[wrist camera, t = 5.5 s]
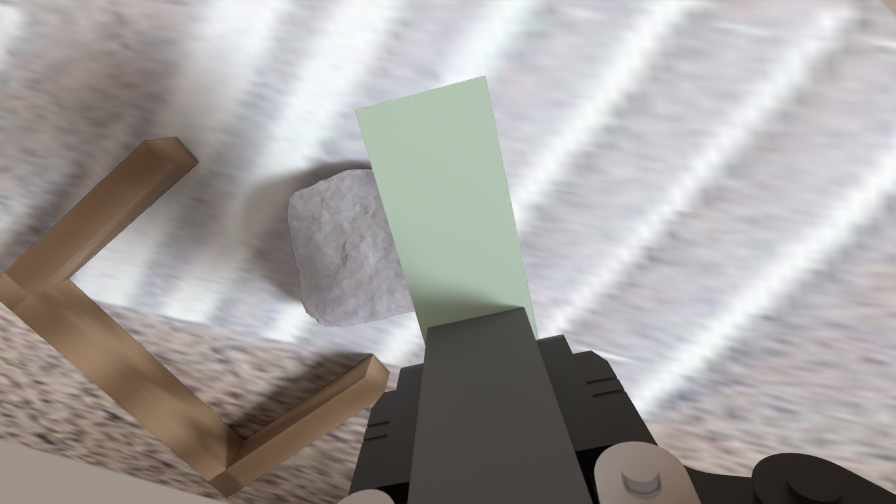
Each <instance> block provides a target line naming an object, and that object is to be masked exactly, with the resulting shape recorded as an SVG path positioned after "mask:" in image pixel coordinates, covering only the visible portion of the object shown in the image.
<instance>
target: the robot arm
mask: <svg viewBox="0 0 896 504" xmlns="http://www.w3.org/2000/svg"><path fill="white" fill-rule="evenodd" d="M536 342H537V345H538V348H539V350H540V353H541V356H542V359H543V362H544V365H545V368H546V371H547V374H548V376H549V379H550V382H551V385H552V388H553V391H554V394H555V397H556V399H557V402H558V405H559V408H560V411H561V414H562V417H563V420H564V422H565V425H566V428H567V431H568V434H569V437H570V440H571V443H572V446H573V448H574V451H575V454H576V457H577V460H578V463H579V466H580V469H581V471H582V474H583V477H584V480H585V483H586V486H587V489H588V492H589V494H590V497H591V500H592V503H593V504H896V495H895V494H893V493H891V492H889V491H887V490H886V489H884V488H882V487H880V486H878V485H876V484H874V483H872V482H870V481H868V480H866V479H864V478H862V477H861V476H859V475H857V474H855V473H853V472H851V471H849V470H847V469H845V468H843V467H841V466H839V465H837V464H835V463H833V462H830V461H827V460H825V459H822V458H819V457H815V456H811V455H806V454H800V453H780V454H775V455H771V456H768V457H766V458H764V459H762V460H761V461H760V462H759V463H758V464H757V465H756V466H755V468H754V470H753V473H752V478H751V477H741V476H730V475H720V474H712V473H705V472H701V471H697V470H694V469H692V468H689V467H686V466H684V465H683V464H682V463H681V462H680V461H679V460H678V459H677V458H676V457H675V456H674V455H673V454H671V453H670V452H668V451H667V450H665V449H663V448H661V447H659V446H658V444H657V443H656V442H655V440H654V438H653V437H652V435H651V433H650V432H649V430H648V428H647V426H646V425H645V423H644V421H643V420H642V418H641V416H640V415H639V413H638V411H637V410H636V408H635V406H634V405H633V403H632V401H631V400H630V398H629V396H628V395H627V393H626V392H625V391H624V388H623V386H622V385H621V383H620V381H619V380H618V379H617V376H616V375H615V373H614V371H613V370H612V368H611V366H610V364H609V363H608V361H606V360H605V359H603V358H602V357H600V356H599V355H597V354H596V353H594V352H593V351H586V352H581V353H576V354H573V353H572V351H571V349H570V347H569V345H568V343H567V341H566V339H565V337H564V335H563V334H562V335H557V336H552V337H548V338H543V339H538V340H536ZM423 365H424V363H422V364H418V365H413V366H408V367H403V368H401V370H400V374H399V379H398V384H397V389H396V390H394V391H389V392H384V393H383V394H382V395H381V397H380V398H379V399H378V401H377V402H376V403H375V405H374V406H373V407H372V409H371V413H370V417H369V420H368V424H367V427H368V428H367V429H366V431H365V435H364V439H363V440H364V443H362V446H361V450H360V454H359V457H358V461H357V465H356V469H355V472H354V476H353V480H352V483H351V487H350V491H349V495H348V496H347V497H346V498H344V499H343V500H341V501H340V502H338V503H337V504H407V503H408V494H409V486H410V477H411V468H412V460H413V451H414V442H415V434H416V425H417V416H418V408H419V399H420V391H421V382H422V373H423Z"/></svg>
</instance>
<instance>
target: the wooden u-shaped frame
mask: <svg viewBox="0 0 896 504" xmlns="http://www.w3.org/2000/svg"><path fill="white" fill-rule="evenodd" d="M198 163H199V162H198V161H197V159H196V158H195V157H194V156H193V155H192V154H191V153H190V152H189V151H188V150H187V148H186V147H185V146H184V145H183V144H182V143H181V142H180V141H179V140H178V139H177V137H174V138H164V139H154V140H144V141H143V142H142V143H141V144H140V145H139V146H138V147H137V148H136V149H135V150H134V151H133V152H132V153H131V154H130V155H129V156H128V157H126V158H125V159H124V160H123V161H122V162H121V163H120V164H119V165H118V166H117V167H116V168H115V169H114V170H113V171H112V172H111V173H110V174H109V175H107V176H106V177H105V178H104V179H103V180H102V181H101V182H100V183H99V184H98V185H97V186H96V187H95V188H94V189H93V190H92V191H91V192H89V193H88V194H87V195H86V196H85V197H84V198H83V199H82V200H81V201H80V202H79V203H78V204H77V205H76V206H75V207H74V208H73V209H71V210H70V211H69V212H68V213H67V214H66V215H65V216H64V217H63V218H62V219H61V220H60V221H59V222H58V223H57V224H56V225H55V226H54V227H52V228H51V229H50V230H49V231H48V232H47V233H46V234H45V235H44V236H43V237H42V238H41V239H40V240H39V241H38V242H37V243H36V244H34V245H33V246H32V247H31V248H30V249H29V250H28V251H27V252H26V253H25V254H24V255H23V256H22V257H21V258H20V259H19V260H18V261H16V262H15V263H14V264H13V265H12V266H11V267H10V268H9V269H8V270H7V271H6V272H5V273H4V274H3V275H2V276H1V277H0V301H1V302H2V303H3V304H4V305H5V306H6V307H7V308H9V309H10V310H11V311H12V312H13V313H14V314H16V315H17V316H18V317H19V318H20V319H21V320H22V321H24V322H25V323H26V324H27V325H28V326H29V327H30V328H32V329H33V330H34V331H35V332H36V333H37V334H39V335H40V336H41V337H42V338H43V339H44V340H45V341H47V342H48V343H49V344H50V345H51V346H52V347H54V348H55V349H56V350H57V351H58V352H59V353H60V354H62V355H63V356H64V357H65V358H66V359H67V360H69V361H70V362H71V363H72V364H73V365H74V366H75V367H77V368H78V369H79V370H80V371H81V372H82V373H83V374H85V375H86V376H87V377H88V378H89V379H90V380H92V381H93V382H94V383H95V384H96V385H97V386H98V387H100V388H101V389H102V390H103V391H104V392H105V393H107V394H108V395H109V396H110V397H111V398H112V399H113V400H115V401H116V402H117V403H118V404H119V405H120V406H122V407H123V408H124V409H125V410H126V411H127V412H128V413H130V414H131V415H132V416H133V417H134V418H135V419H136V420H138V421H139V422H140V423H141V424H142V425H143V426H145V427H146V428H147V429H148V430H149V431H150V432H151V433H153V434H154V435H155V436H156V437H157V438H158V439H160V440H161V441H162V442H163V443H164V444H165V445H166V446H168V447H169V448H170V449H171V450H172V451H173V452H174V453H176V454H177V455H178V456H179V457H180V458H181V459H183V460H184V461H185V462H186V463H187V464H188V465H189V466H191V467H192V468H193V469H194V470H195V471H196V472H198V473H199V474H200V475H201V476H202V477H203V478H204V479H206V480H207V481H208V482H209V483H210V484H211V485H213V486H214V487H215V488H216V489H217V490H218V491H219V492H221V493H222V494H223V495H224V496H225V497H226V498H227V497H229V496H230V495H232V494H233V493H235V492H236V491H238V490H239V489H241V488H243V487H244V486H246V485H247V484H249V483H250V482H252V481H253V480H255V479H257V478H258V477H260V476H261V475H263V474H264V473H266V472H267V471H269V470H270V469H272V468H274V467H275V466H277V465H278V464H280V463H281V462H283V461H284V460H286V459H288V458H289V457H291V456H292V455H294V454H295V453H297V452H298V451H300V450H301V449H303V448H305V447H306V446H308V445H309V444H311V443H312V442H314V441H315V440H317V439H319V438H320V437H322V436H323V435H325V434H326V433H328V432H329V431H331V430H332V429H334V428H336V427H337V426H339V425H340V424H342V423H343V422H345V421H346V420H348V419H349V418H351V417H353V416H354V415H356V414H357V413H359V412H360V411H362V410H363V409H365V408H367V407H368V406H370V405H371V404H373V403H374V402H376V401H377V400H378V399H379V398H380V397H381V395H382V394H383V393H384V392H385V388H386V384H387V381H388V377H389V373H390V372H389V371H388V370H387V369H386V368H385V366H384V365H383V364H382V363H381V362H380V361H379V360H378V359H377V358H376V357H375V355H374V354H372V355H371V356H369V357H368V358H366V359H365V360H363V361H362V362H360V363H359V364H357V365H356V366H354V367H353V368H352V369H350V370H349V371H347V372H346V373H344V374H343V375H341V376H340V377H338V378H337V379H335V380H334V381H332V382H331V383H329V384H328V385H326V386H325V387H323V388H322V389H320V390H319V391H318V392H316V393H315V394H313V395H312V396H310V397H309V398H307V399H306V400H304V401H303V402H301V403H300V404H298V405H297V406H295V407H294V408H292V409H291V410H289V411H288V412H286V413H285V414H284V415H282V416H281V417H279V418H278V419H276V420H275V421H273V422H272V423H270V424H269V425H267V426H266V427H264V428H263V429H261V430H260V431H258V432H257V433H255V434H254V435H252V436H251V437H250V438H248V439H247V440H245V441H244V440H243V439H242V438H241V437H240V436H238V435H237V434H236V433H235V432H234V431H233V430H232V429H231V428H230V427H229V426H228V425H227V424H225V423H224V422H223V421H222V420H221V419H220V418H219V417H218V416H217V415H216V414H215V413H214V412H213V411H211V410H210V409H209V408H208V407H207V406H206V405H205V404H204V403H203V402H202V401H201V400H200V399H198V398H197V397H196V396H195V395H194V394H193V393H192V392H191V391H190V390H189V389H188V388H187V387H185V386H184V385H183V384H182V383H181V382H180V381H179V380H178V379H177V378H176V377H175V376H174V375H172V374H171V373H170V372H169V371H168V370H167V369H166V368H165V367H164V366H163V365H162V364H161V363H159V362H158V361H157V360H156V359H155V358H154V357H153V356H152V355H151V354H150V353H149V352H148V351H146V350H145V349H144V348H143V347H142V346H141V345H140V344H139V343H138V342H137V341H136V340H135V339H133V338H132V337H131V336H130V335H129V334H128V333H127V332H126V331H125V330H124V329H123V328H122V327H120V326H119V325H118V324H117V323H116V322H115V321H114V320H113V319H112V318H111V317H110V316H109V315H108V314H106V313H105V312H104V311H103V310H102V309H101V308H100V307H99V306H98V305H97V304H96V303H95V302H93V301H92V300H91V299H90V298H89V297H88V296H87V295H86V294H85V293H84V292H83V291H82V290H80V289H79V288H78V287H77V286H76V285H75V284H74V283H73V282H72V281H71V280H70V279H69V278H70V277H71V276H72V275H73V274H74V273H76V272H77V271H78V270H79V269H80V268H81V267H82V266H83V265H85V264H86V263H87V262H88V261H89V260H90V259H91V258H92V257H93V256H95V255H96V254H97V253H98V252H99V251H100V250H101V249H102V248H104V247H105V246H106V245H107V244H108V243H109V242H110V241H111V240H112V239H114V238H115V237H116V236H117V235H118V234H119V233H120V232H121V231H123V230H124V229H125V228H126V227H127V226H128V225H129V224H130V223H132V222H133V221H134V220H135V219H136V218H137V217H138V216H139V215H140V214H142V213H143V212H144V211H145V210H146V209H147V208H148V207H149V206H151V205H152V204H153V203H154V202H155V201H156V200H157V199H158V198H159V197H161V196H162V195H163V194H164V193H165V192H166V191H167V190H168V189H170V188H171V187H172V186H173V185H174V184H175V183H176V182H177V181H178V180H180V179H181V178H182V177H183V176H184V175H185V174H186V173H187V172H189V171H190V170H191V169H192V168H193V167H194V166H195V165H196V164H198Z"/></svg>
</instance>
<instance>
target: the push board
mask: <svg viewBox="0 0 896 504" xmlns="http://www.w3.org/2000/svg"><path fill="white" fill-rule="evenodd" d="M355 113H356V116H357V120H358V123H359V126H360V130H361V133H362V136H363V140H364V143H365V146H366V150H367V153H368V156H369V160H370V163H371V166H372V170H373V173H374V176H375V180H376V183H377V186H378V190H379V193H380V196H381V199H382V203H383V206H384V209H385V213H386V216H387V219H388V223H389V226H390V229H391V233H392V236H393V239H394V243H395V246H396V249H397V253H398V256H399V259H400V263H401V266H402V269H403V273H404V276H405V279H406V283H407V286H408V289H409V293H410V296H411V299H412V303H413V306H414V309H415V312H416V316H417V319H418V322H419V326H420V329H421V332H422V336H423V339H424V342H425V346H426V347H425V356H424V365H423V373H422V382H421V391H420V399H419V408H418V416H417V425H416V434H415V442H414V451H413V460H412V468H411V477H410V486H409V494H408V503H407V504H593V503H592V500H591V497H590V494H589V492H588V489H587V486H586V483H585V480H584V477H583V474H582V471H581V469H580V466H579V463H578V460H577V457H576V454H575V451H574V448H573V446H572V443H571V440H570V437H569V434H568V431H567V428H566V425H565V422H564V420H563V417H562V414H561V411H560V408H559V405H558V402H557V399H556V397H555V394H554V391H553V388H552V385H551V382H550V379H549V376H548V374H547V371H546V368H545V365H544V362H543V359H542V356H541V353H540V350H539V348H538V345H537V342H536V340H538V339H539V337H538V332H537V328H536V323H535V318H534V313H533V308H532V303H531V298H530V293H529V288H528V283H527V278H526V273H525V268H524V263H523V259H522V254H521V249H520V244H519V239H518V234H517V229H516V224H515V219H514V214H513V209H512V204H511V199H510V194H509V189H508V185H507V180H506V175H505V170H504V165H503V160H502V155H501V150H500V145H499V140H498V135H497V130H496V125H495V120H494V116H493V111H492V106H491V101H490V96H489V91H488V86H487V81H486V76H482V77H478V78H474V79H470V80H467V81H463V82H459V83H455V84H452V85H448V86H444V87H440V88H436V89H433V90H429V91H425V92H421V93H418V94H414V95H410V96H406V97H402V98H399V99H395V100H391V101H387V102H384V103H380V104H376V105H372V106H368V107H365V108H361V109H357V110H355Z"/></svg>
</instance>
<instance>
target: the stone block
mask: <svg viewBox="0 0 896 504" xmlns="http://www.w3.org/2000/svg"><path fill="white" fill-rule="evenodd" d="M287 219H288V225H289V229H290V232H291V233H290V235H291V241H292V248H293V253H294V258H295V261H296V266H297V268H298V271H299V280H300V293H301V300H302V304H303V306H304V308H305V311H306V313H308V314H309V315H310V316H311V317H313V318H315V319H316V320H317V322H318V323H319V324H323V325H325V326H327V327H329V326H350V325H356V324H360V323H367V322H372V321H376V320H381V319H385V318H389V317H392V316H395V315H399V314H403V313H408V312H413V311H415V309H414V306H413V303H412V299H411V296H410V293H409V289H408V286H407V283H406V279H405V276H404V273H403V269H402V266H401V263H400V259H399V256H398V253H397V249H396V246H395V243H394V239H393V236H392V233H391V229H390V226H389V223H388V219H387V216H386V213H385V209H384V206H383V203H382V199H381V196H380V193H379V190H378V186H377V183H376V180H375V176H374V173H373V170H372V169H354V170H344V171H342V172H340V173H338V174H336V175H334V176H332V177H330V178H328V179H324V180H321V181H318V182H317V183H316V184H314V185H312V186H310V187H306V188H302V189H299V190H296V191H295V192H294V193H293V195H292V196H291V197H290V201H289V204H288V207H287Z"/></svg>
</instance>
